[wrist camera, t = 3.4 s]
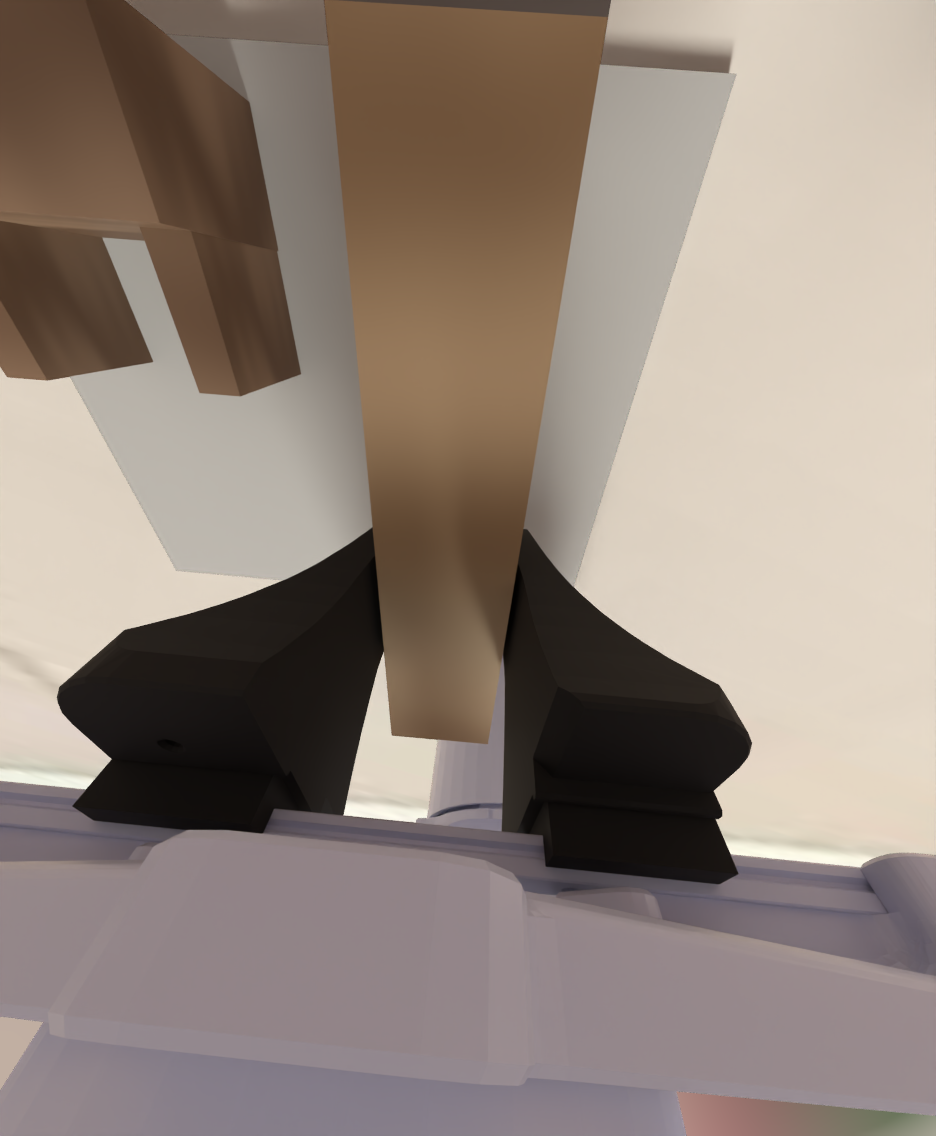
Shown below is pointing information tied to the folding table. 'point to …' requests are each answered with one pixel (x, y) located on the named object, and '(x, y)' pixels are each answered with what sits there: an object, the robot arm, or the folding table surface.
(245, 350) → the bracket
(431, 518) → the rail
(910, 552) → the folding table surface
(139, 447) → the mat
